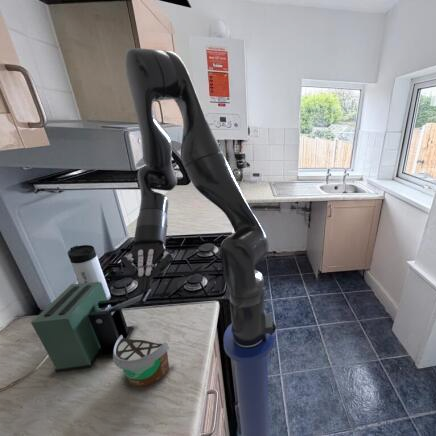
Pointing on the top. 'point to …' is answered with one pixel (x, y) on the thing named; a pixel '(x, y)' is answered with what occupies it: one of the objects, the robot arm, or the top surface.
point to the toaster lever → (127, 303)
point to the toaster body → (71, 327)
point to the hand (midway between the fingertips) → (144, 291)
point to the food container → (141, 360)
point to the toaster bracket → (109, 328)
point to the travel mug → (87, 266)
